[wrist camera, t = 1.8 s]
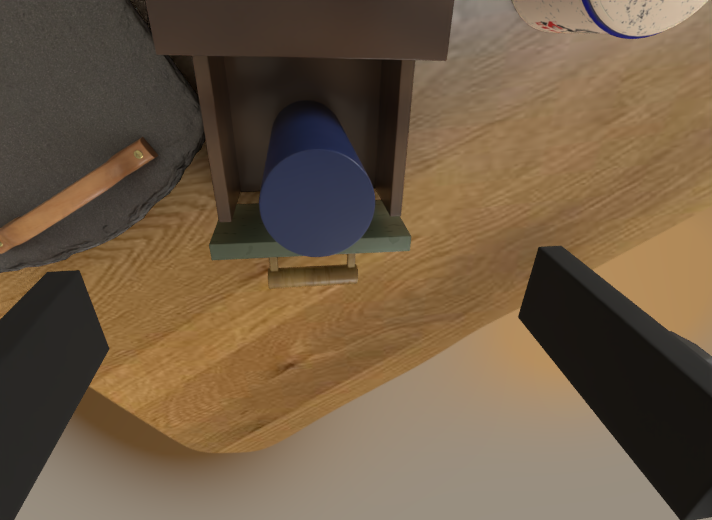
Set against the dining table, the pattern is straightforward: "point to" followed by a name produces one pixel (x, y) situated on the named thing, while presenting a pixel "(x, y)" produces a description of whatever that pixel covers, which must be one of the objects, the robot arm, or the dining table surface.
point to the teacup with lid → (606, 15)
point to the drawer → (252, 136)
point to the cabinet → (303, 28)
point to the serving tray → (85, 126)
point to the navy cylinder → (314, 183)
